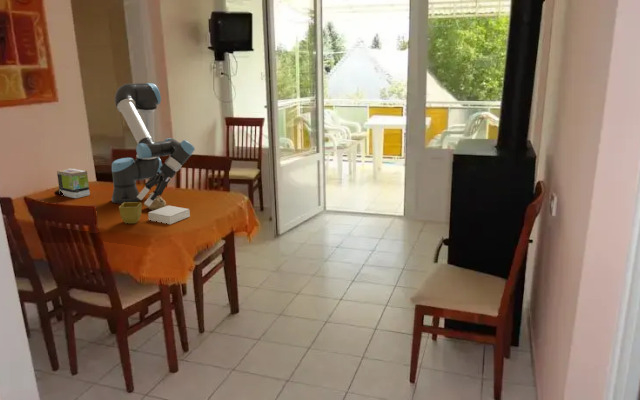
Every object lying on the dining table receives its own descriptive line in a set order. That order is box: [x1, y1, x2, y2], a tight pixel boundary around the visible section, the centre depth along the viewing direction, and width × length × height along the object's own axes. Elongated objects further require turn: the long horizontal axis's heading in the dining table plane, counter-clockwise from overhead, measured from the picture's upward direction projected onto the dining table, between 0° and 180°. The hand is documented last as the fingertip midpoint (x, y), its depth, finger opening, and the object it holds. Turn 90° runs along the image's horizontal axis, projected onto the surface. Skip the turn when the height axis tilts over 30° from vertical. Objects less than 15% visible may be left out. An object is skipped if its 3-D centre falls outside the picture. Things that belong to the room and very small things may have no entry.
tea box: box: [56, 167, 91, 199], centre depth 293 cm, size 15×10×15 cm, turn 58°
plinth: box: [147, 205, 191, 225], centre depth 252 cm, size 14×14×4 cm
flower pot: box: [118, 201, 143, 224], centre depth 246 cm, size 9×9×9 cm
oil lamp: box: [143, 192, 167, 211], centre depth 267 cm, size 11×15×8 cm
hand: (142, 201), depth 246 cm, fingers open, 13 cm apart
